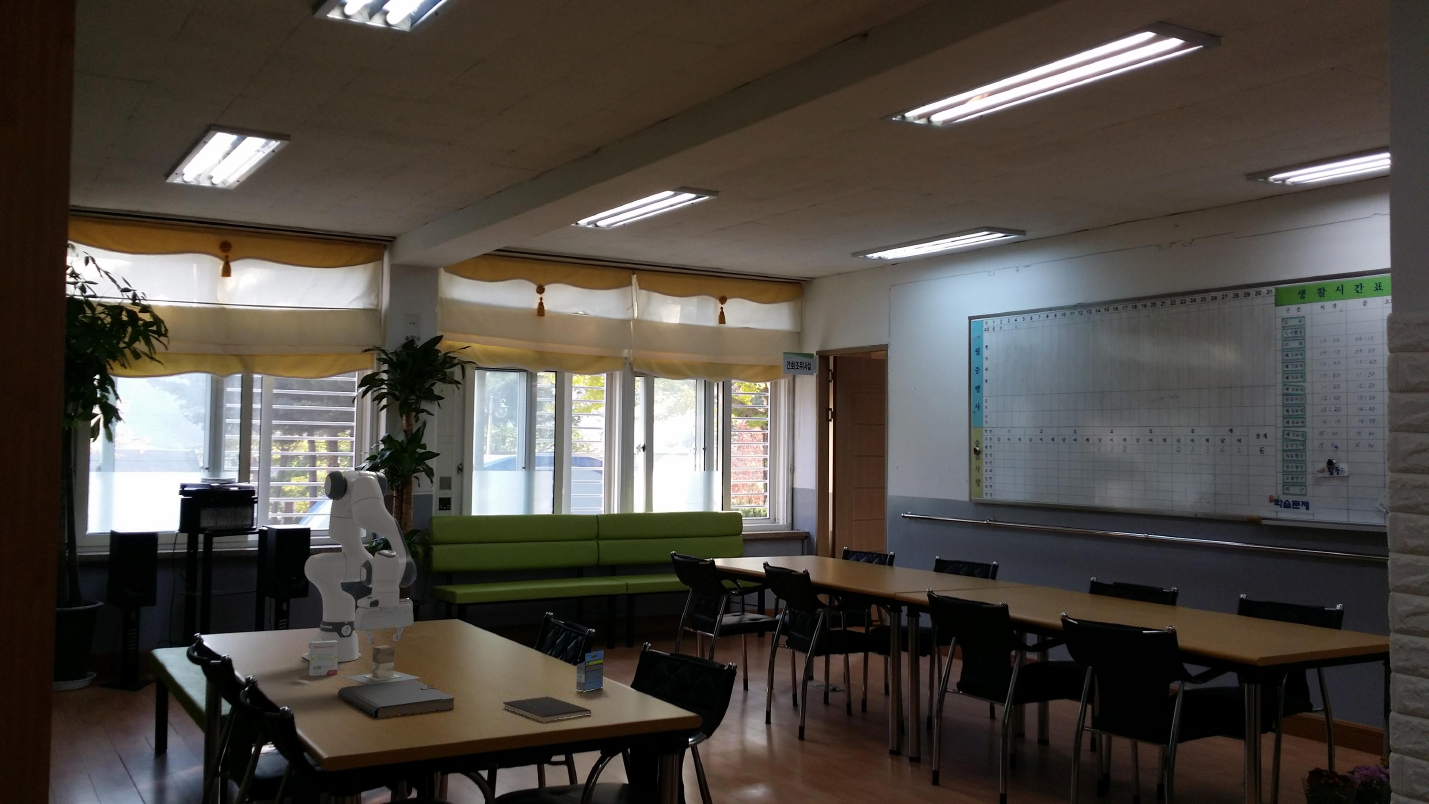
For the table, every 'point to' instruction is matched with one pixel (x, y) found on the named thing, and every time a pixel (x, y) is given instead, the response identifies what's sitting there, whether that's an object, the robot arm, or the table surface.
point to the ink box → (323, 658)
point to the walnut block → (383, 654)
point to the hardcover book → (545, 708)
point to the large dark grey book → (396, 698)
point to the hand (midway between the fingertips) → (383, 641)
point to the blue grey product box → (590, 672)
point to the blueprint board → (370, 680)
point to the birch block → (382, 670)
